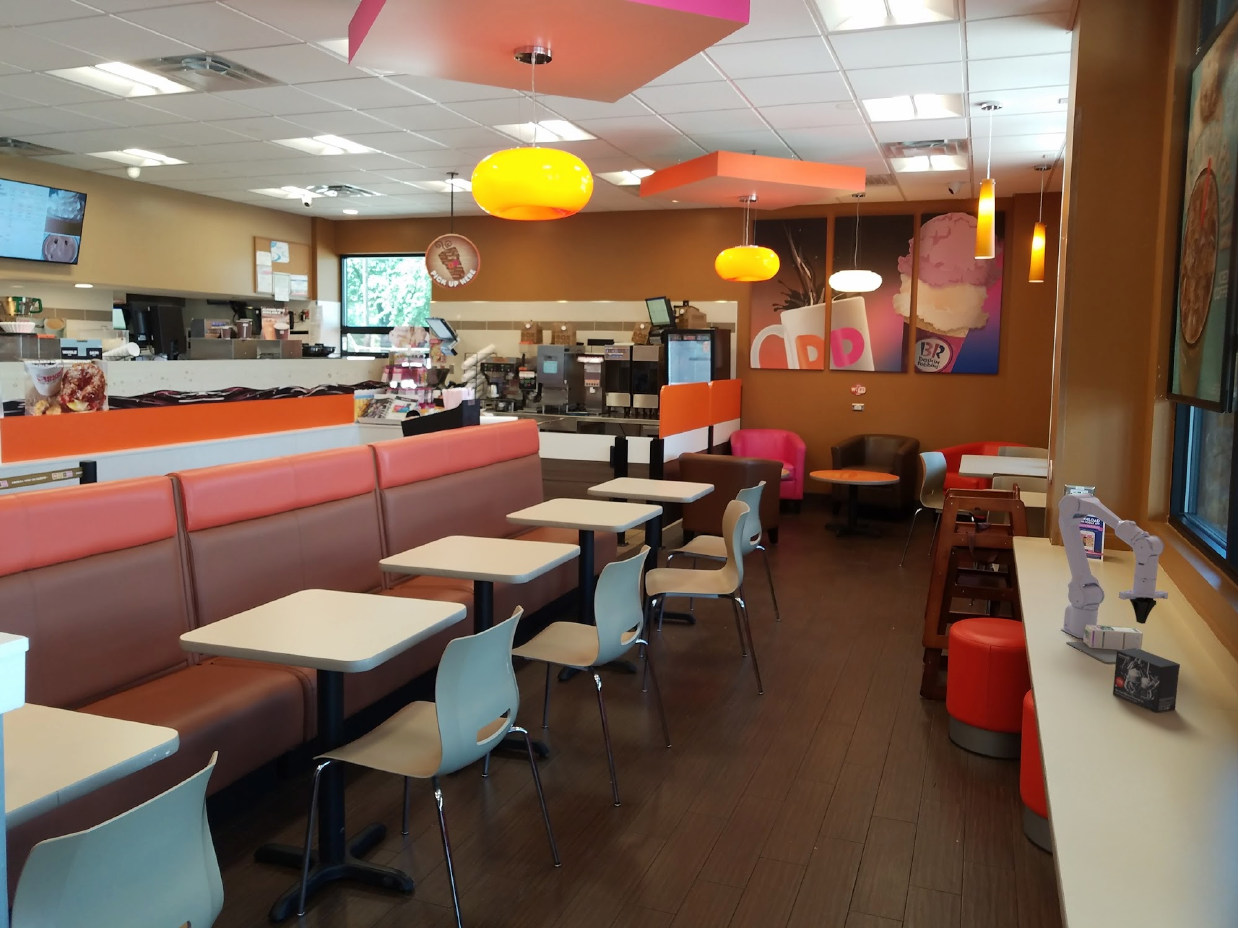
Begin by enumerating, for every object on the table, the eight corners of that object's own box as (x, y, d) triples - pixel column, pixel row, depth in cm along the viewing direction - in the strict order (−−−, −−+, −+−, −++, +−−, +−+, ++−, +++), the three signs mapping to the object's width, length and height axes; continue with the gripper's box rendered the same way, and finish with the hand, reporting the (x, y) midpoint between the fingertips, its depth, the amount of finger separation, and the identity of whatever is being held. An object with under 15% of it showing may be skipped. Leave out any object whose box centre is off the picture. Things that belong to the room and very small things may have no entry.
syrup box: (1143, 632, 276) (1090, 628, 279) (1141, 652, 277) (1088, 647, 279) (1136, 627, 282) (1084, 623, 284) (1134, 646, 283) (1082, 642, 285)
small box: (1111, 694, 243) (1115, 649, 242) (1130, 691, 246) (1135, 647, 244) (1156, 713, 231) (1160, 666, 230) (1176, 710, 233) (1181, 663, 232)
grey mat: (1066, 643, 285) (1066, 641, 285) (1114, 642, 287) (1114, 640, 287) (1105, 663, 267) (1105, 661, 267) (1156, 662, 270) (1156, 660, 270)
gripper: (1132, 581, 271) (1127, 627, 273) (1177, 580, 273) (1172, 626, 275) (1115, 575, 278) (1111, 619, 280) (1160, 574, 280) (1155, 619, 282)
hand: (1140, 622), depth 278 cm, fingers closed
